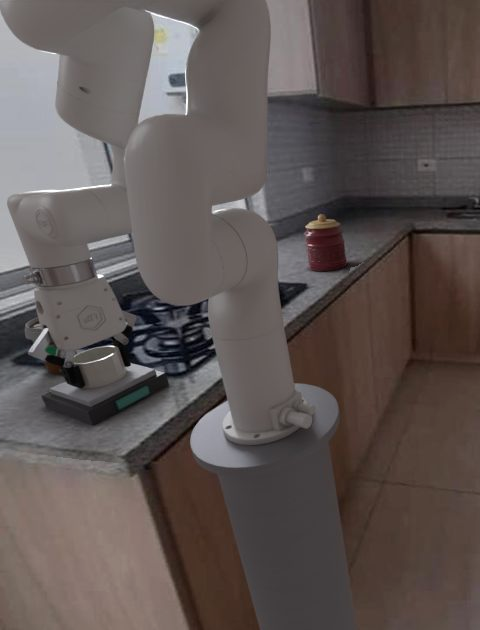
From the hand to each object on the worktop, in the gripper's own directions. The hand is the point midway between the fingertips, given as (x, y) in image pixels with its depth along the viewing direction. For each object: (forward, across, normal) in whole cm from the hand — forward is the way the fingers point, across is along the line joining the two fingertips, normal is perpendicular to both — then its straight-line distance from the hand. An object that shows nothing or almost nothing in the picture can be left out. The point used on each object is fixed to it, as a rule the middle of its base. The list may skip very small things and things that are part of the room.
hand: (101, 374), depth 74 cm
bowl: (+1, 0, 0) cm, 1 cm away
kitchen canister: (+4, +82, +14) cm, 84 cm away
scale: (+4, 0, 0) cm, 4 cm away
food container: (+5, +3, +21) cm, 21 cm away
